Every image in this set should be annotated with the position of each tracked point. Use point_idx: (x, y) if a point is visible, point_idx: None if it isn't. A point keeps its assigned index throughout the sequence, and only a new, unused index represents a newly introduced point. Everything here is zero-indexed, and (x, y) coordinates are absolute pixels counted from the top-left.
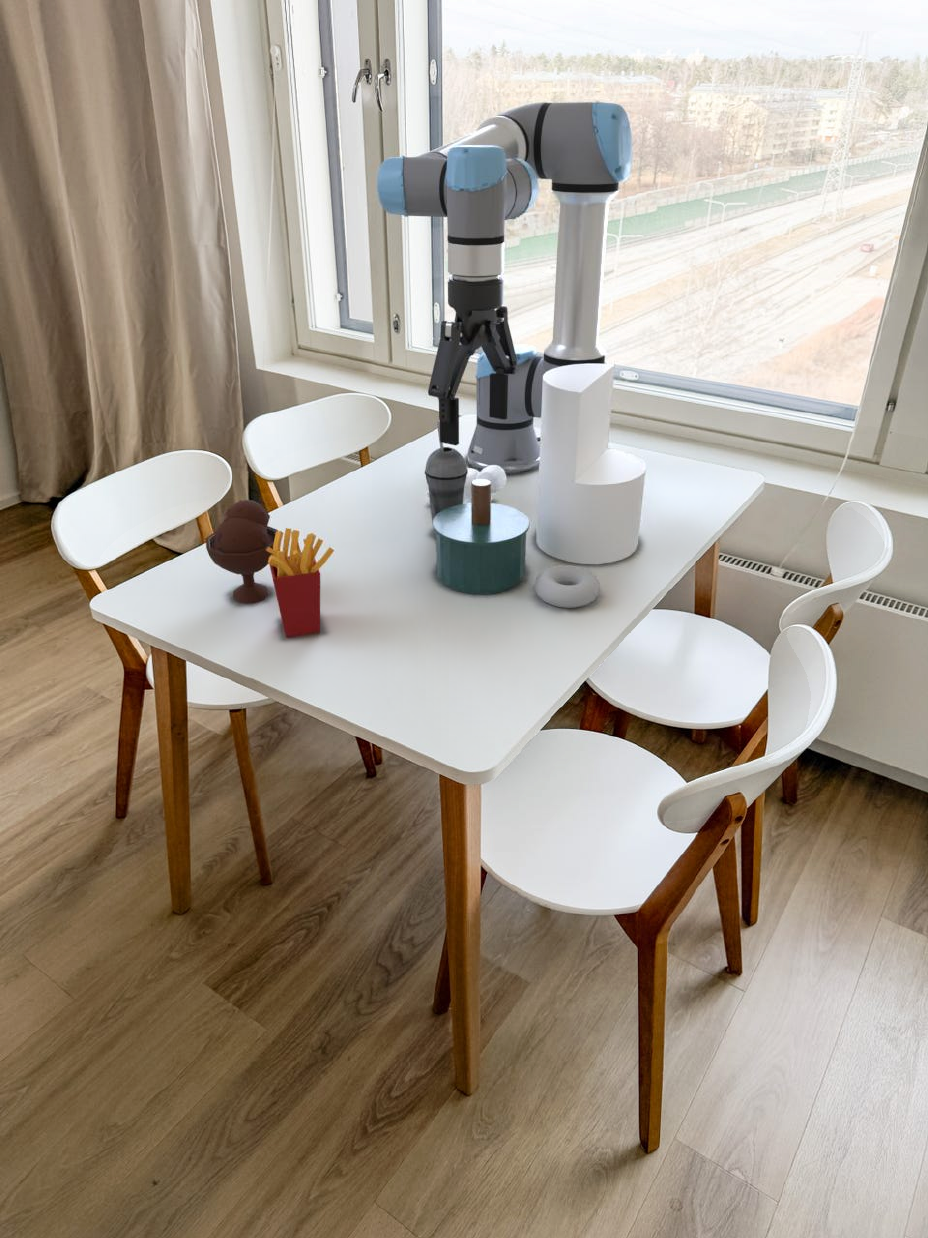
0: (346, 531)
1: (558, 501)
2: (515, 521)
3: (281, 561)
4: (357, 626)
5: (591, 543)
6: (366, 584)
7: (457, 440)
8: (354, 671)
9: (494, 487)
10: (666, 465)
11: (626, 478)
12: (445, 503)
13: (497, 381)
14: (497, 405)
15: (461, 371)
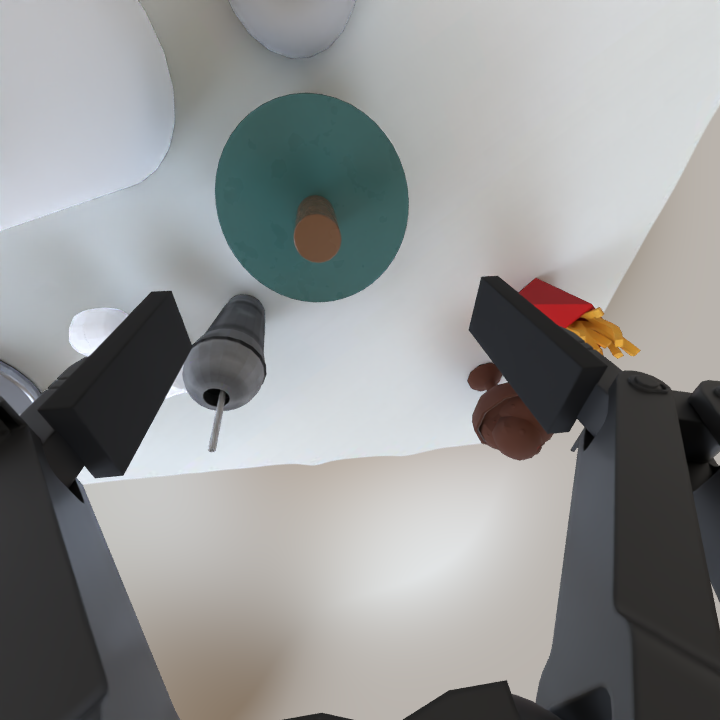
0: (323, 398)
1: (114, 84)
2: (269, 148)
3: (623, 343)
4: (512, 252)
5: None
6: (420, 306)
7: (497, 281)
8: (608, 187)
9: (120, 314)
10: None
11: None
12: (257, 329)
13: (118, 418)
14: (164, 345)
15: (659, 487)
